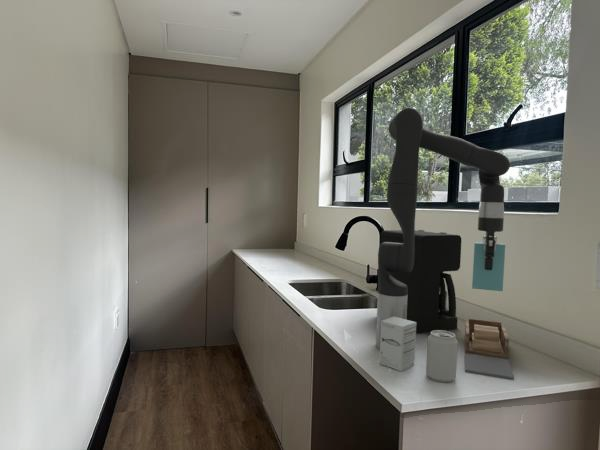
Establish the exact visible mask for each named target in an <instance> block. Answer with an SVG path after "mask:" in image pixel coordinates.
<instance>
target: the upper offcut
mask: <svg viewBox="0 0 600 450" xmlns="http://www.w3.org/2000/svg"><path fill="white" fill-rule="evenodd" d="M474 339H479V340H486V341H493V342H499V330H498V327H491V326H483V325H475V324H474Z"/></svg>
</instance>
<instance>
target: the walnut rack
mask: <svg viewBox="0 0 600 450" xmlns="http://www.w3.org/2000/svg"><path fill="white" fill-rule="evenodd" d="M464 323H465V325H464V327H465V328H464V354H465V353H468V354H475V355H482V356H489V357H496V358H503V359H509V348H510V347H509V346H510V338H509V335H508V332H507V330H506V326H505V325H504V324H502V321H495V320H489V319H488V320H486V319H479V318H471V317H470V318H468V320H465V322H464ZM474 324H475V325H483V326H491V327H498V330H499V338H500V342H501V348H500V353H499V352H492V351H485V350H478V349H472V333H474Z"/></svg>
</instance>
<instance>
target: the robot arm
mask: <svg viewBox="0 0 600 450" xmlns="http://www.w3.org/2000/svg"><path fill="white" fill-rule="evenodd" d="M388 133H389V135H390V137H391V138H392V139H393V140H394V141H395V152H394V156H393V157H394V158H393V160H392V164H391V168H390V170H389V171H390V172H389V175H388V179H387V192H386V201H387V202H386V203H387V204H388V207H389V209H390V210H391V212H392V213H393V216H394V217H395V219H396V221H397V223H398V225H399V227H400V230H402V233H403V238H404V243H393V242H383V243H381V242H380V245H379V247H378V252H377V271H378V272H377V287H378V288H377V302H376V303H377V306H376V307H377V308H376V330H375V331H376V332H375V334H376V335H375V347H376V348H377V349H378V350H379V351H380V337H381V321H382V320H385V319H388V318H391V317H398V318H402V319H406V320H407V300H408V286H407V285H406V284H404V283H402V282H400V281H398V280H396V279H395V278H393V277H392V276H391V274H390V272H400V273H410V272H411V271H412V269H413V266H414V253H415V228H416V227H415V225H416V224H415V223H416V211H417V200H418V187H419V184H418V183H419V182H418V180H419V160H420V159H419V155H420V154H419V153H420V149H423V150H427V151H430V152H433V153H435V154H438V155H440V156H443V157H445V158H448V159H450V160H452V161H454V162H456V163H458V164H462V165H464V166H466V167H474V168H477V169H478V170H477V171H478V180H479V186H480V195H479V196H480V199H479V205H478V206H479V207H478V219H477V221H478V222H477V230H478V231H482V232H485V235H484V236H482V241H483V242H482V243H484V251H485V270H492V265H493V258H494V251H495V249H496V244H497V242H498V239H497V236H495V233H497V232H499V233H500V232H503V231H504V219H505V217H504V216H505V207H504V206H505V205H504V204H505V188H504V186H503V185H502V184H501V183H500V176H503V175H505V174H506V173H507V172H508V171H509V170H510V167H511V163H510V160H509V158H508V157H507V156H506V155H505V154H503V153H501V152H499V151H495V150H492V149H488V148H484V147H480V146H478V145H477V144H475V143H472V142H470V141H467V140H466V139H463V138H459V137H457V136H453V135H448V134H442V133H438V132H434V131H431V130H429V129H426V128H425V127H424V120H423V117H422V114H421V113H420V111H418V110H417V109H415V108H413V107H406V108H404V109H402V110H400V111H399V112H398V113H397V114H396V115H394V117H393V118H392V119H391V121H390V123H389V125H388ZM488 251H492V253H487V252H488Z"/></svg>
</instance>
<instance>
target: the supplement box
mask: <svg viewBox="0 0 600 450" xmlns="http://www.w3.org/2000/svg"><path fill="white" fill-rule="evenodd" d="M416 324H417V322H414V321H410V320H406V319H402V318H398V317H391V318H388V319H385V320H382V321H381V337H380V350H379V361H378V364H379V365H382V366H385V367H388V368H391V369H394V370H397V371H398V372H403V371H405V370H407V369H409V368H411V367H413V366H414V365H415V356H416V355H415V354H416V353H415V352H416V339H417V338H416V336H417V335H416V334H417V333H416Z"/></svg>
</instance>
